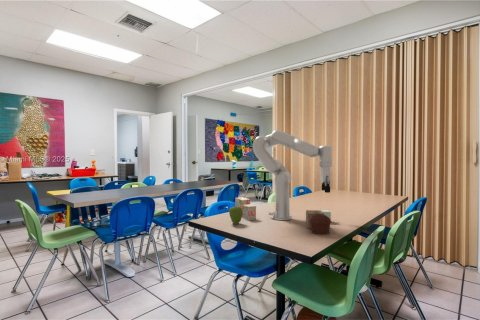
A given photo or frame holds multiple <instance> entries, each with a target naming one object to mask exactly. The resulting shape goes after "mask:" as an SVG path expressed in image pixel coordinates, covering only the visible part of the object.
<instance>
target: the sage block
mask: <svg viewBox="0 0 480 320" xmlns="http://www.w3.org/2000/svg"><path fill="white" fill-rule="evenodd" d="M320 210H321V211H322V212H323V213H324V215H326V216H327V217H329V218H330V220H331V221H332V217H331V216H332V212H331V211H330V210H329V209H320Z"/></svg>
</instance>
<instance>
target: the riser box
mask: <svg viewBox="0 0 480 320" xmlns="http://www.w3.org/2000/svg"><path fill="white" fill-rule="evenodd" d="M321 210H322V209H320V210H318V209H317V210H315V209H314V210H313V209H311V210H310V209H308V210H305V225H306V227H307V229H308V230H312V228H311V222H310V219H311V217H312V216H314V215H316V214H323V215H324V213H323V212H322V211H321Z"/></svg>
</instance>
